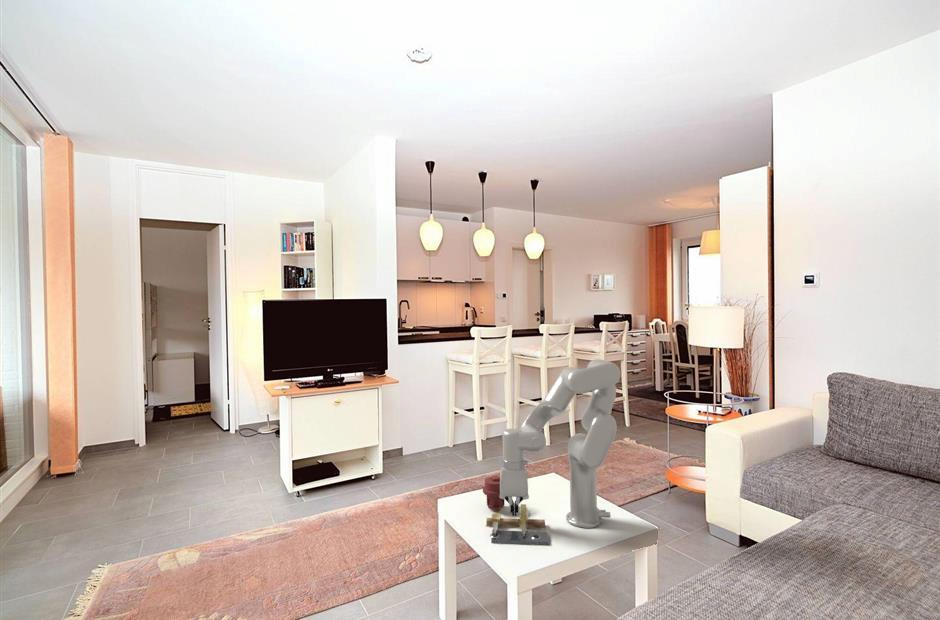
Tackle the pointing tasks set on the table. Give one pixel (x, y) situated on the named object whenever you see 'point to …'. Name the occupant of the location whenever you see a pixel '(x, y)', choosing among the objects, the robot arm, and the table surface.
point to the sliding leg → (523, 519)
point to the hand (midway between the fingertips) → (514, 514)
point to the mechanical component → (493, 493)
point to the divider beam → (511, 522)
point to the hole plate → (520, 537)
